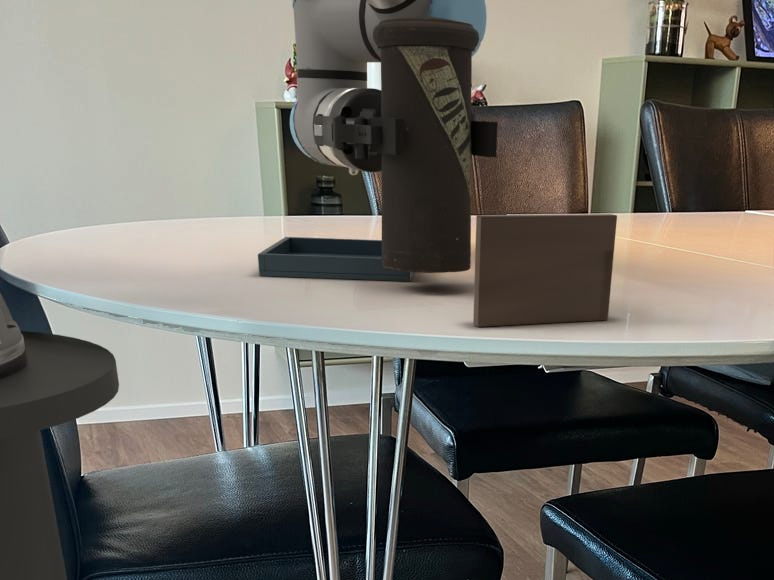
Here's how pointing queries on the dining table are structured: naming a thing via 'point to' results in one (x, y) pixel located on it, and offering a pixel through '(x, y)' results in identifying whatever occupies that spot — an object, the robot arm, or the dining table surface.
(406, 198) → the container
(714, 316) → the dining table surface
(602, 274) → the brown wooden block
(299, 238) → the tray
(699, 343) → the dining table surface
